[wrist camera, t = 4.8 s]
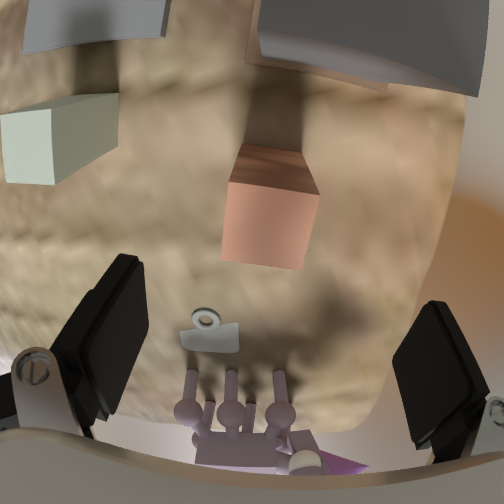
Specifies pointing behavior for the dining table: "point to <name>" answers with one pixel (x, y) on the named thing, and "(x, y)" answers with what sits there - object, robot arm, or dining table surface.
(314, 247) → the dining table surface
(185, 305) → the dining table surface
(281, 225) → the terracotta block
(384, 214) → the dining table surface
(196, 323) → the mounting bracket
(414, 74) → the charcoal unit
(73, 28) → the mat
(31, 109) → the sage block
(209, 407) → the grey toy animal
